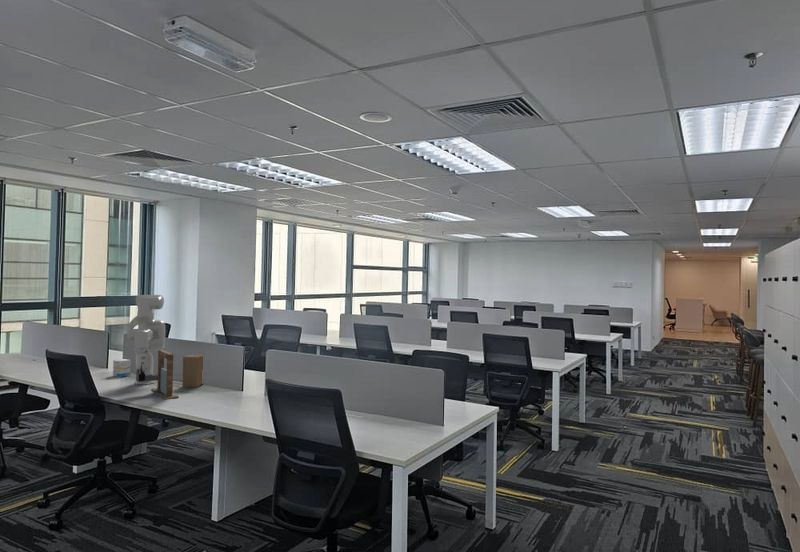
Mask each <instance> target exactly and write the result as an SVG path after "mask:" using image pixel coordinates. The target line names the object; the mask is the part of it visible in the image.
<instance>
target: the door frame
mask: <svg viewBox="0 0 800 552" xmlns="http://www.w3.org/2000/svg"><path fill="white" fill-rule="evenodd" d="M165 359H166V370H167V378H166V395H165V394H164V395H161V398H162V399H163V400H172V398H173V399H179V398H180V397H179V395H177V394H176V393H174V394H173V392H174V391H173V388H174V386H173V385H174V354H173V352H169V351H167V350H164V349H162V350H157V376H159V380H157V385H156V386H157V387H156V388H155V387H154V388H153V387H152V388H151V391H153V392H154V393H157V392H161V391H160V378H161V368H164V369H165Z"/></svg>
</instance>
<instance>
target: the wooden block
mask: <svg viewBox="0 0 800 552" xmlns="http://www.w3.org/2000/svg"><path fill="white" fill-rule="evenodd" d="M203 355H204V354H188V355H184V356H182V388H199V387H201V386H202V385H201V384H202V370H203ZM200 385H201V386H200Z"/></svg>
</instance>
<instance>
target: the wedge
mask: <svg viewBox="0 0 800 552" xmlns="http://www.w3.org/2000/svg"><path fill="white" fill-rule="evenodd" d="M139 374H140V372H137V371H136V373H135V375H136V376H135V379H136V380H135V381H137V382H144V381H155V382H156V381H158V380H159V376H158V374H157V375H154V374H153V375H152V374H146V373H145V380H144V381H139Z"/></svg>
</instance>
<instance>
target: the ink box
mask: <svg viewBox="0 0 800 552" xmlns="http://www.w3.org/2000/svg"><path fill="white" fill-rule="evenodd" d="M131 363H132V362H131V359H126V358H120V359H113V361H112V364H113V365H112V366H113V367H112V369H113V370H112V376H113V377H115V376H116V378H124V377H123V376H125V377H129V376H128V375H130V376H131Z"/></svg>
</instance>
